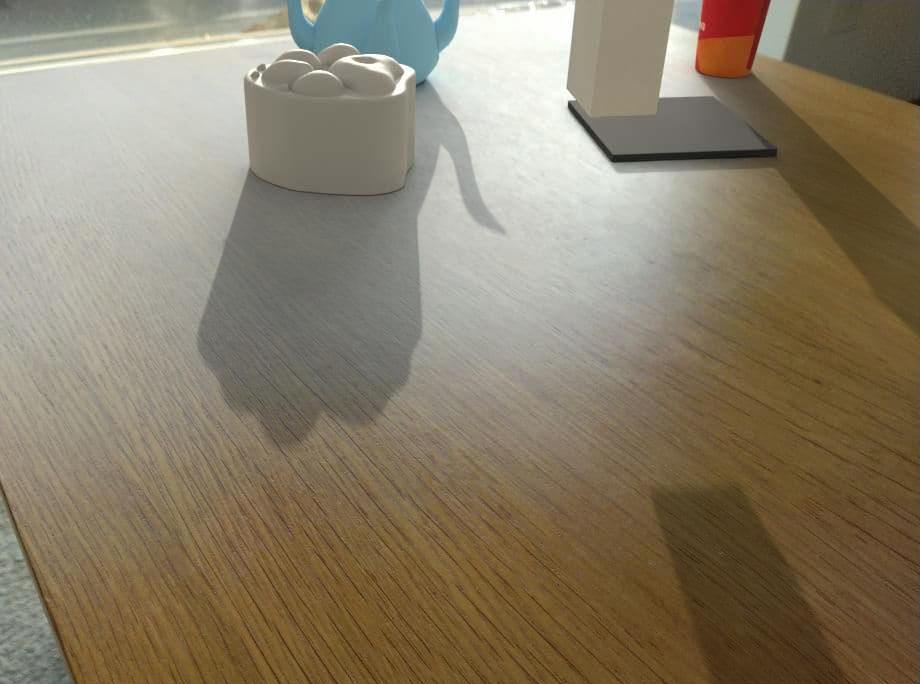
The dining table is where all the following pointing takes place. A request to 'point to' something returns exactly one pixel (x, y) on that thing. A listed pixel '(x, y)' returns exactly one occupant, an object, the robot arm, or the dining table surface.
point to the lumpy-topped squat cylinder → (331, 121)
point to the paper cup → (729, 36)
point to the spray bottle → (618, 55)
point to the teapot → (378, 29)
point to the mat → (675, 132)
